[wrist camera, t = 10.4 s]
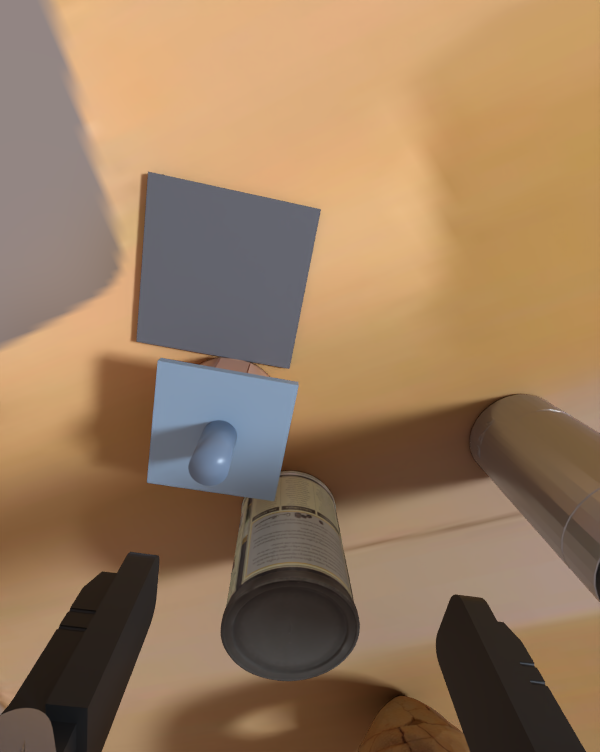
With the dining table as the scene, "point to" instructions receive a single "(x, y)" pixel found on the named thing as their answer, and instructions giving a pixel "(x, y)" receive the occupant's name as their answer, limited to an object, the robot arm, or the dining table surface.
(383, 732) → the bowl
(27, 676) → the robot arm
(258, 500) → the coffee can
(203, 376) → the lid
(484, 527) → the dining table surface
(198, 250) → the mat
